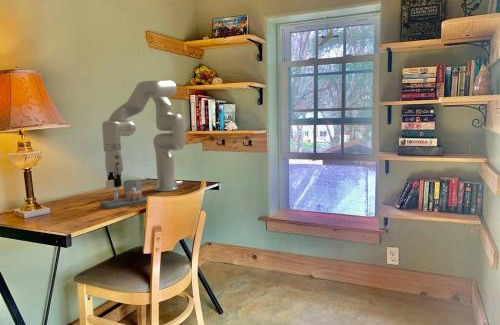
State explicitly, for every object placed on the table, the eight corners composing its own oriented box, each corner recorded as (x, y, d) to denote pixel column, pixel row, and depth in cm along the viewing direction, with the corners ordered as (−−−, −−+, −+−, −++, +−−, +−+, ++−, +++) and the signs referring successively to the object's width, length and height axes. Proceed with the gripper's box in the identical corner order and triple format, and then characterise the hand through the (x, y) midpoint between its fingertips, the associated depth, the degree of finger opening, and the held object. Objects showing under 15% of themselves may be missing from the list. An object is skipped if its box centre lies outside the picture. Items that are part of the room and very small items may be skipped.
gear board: (140, 198, 191) (139, 185, 190) (150, 202, 183) (149, 187, 182) (100, 205, 178) (99, 190, 177) (108, 209, 170) (107, 194, 169)
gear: (119, 186, 181) (119, 178, 181) (125, 188, 176) (124, 180, 175) (104, 188, 177) (103, 180, 176) (109, 190, 171) (109, 182, 171)
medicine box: (142, 196, 196) (141, 180, 195) (137, 198, 192) (136, 181, 191) (129, 195, 199) (128, 179, 198) (124, 197, 195) (123, 181, 193)
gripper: (127, 148, 170) (129, 186, 172) (113, 146, 183) (115, 182, 185) (111, 149, 165) (113, 189, 167) (97, 147, 178) (100, 184, 180)
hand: (114, 185), depth 176 cm, fingers closed on gear, 7 cm apart
